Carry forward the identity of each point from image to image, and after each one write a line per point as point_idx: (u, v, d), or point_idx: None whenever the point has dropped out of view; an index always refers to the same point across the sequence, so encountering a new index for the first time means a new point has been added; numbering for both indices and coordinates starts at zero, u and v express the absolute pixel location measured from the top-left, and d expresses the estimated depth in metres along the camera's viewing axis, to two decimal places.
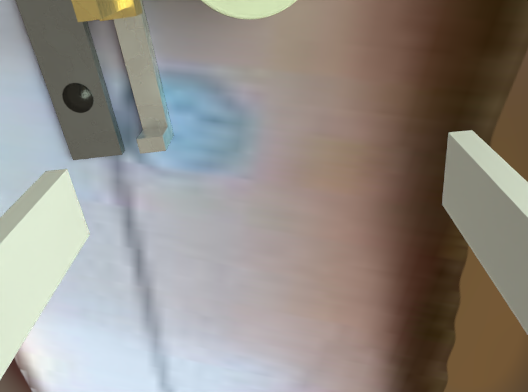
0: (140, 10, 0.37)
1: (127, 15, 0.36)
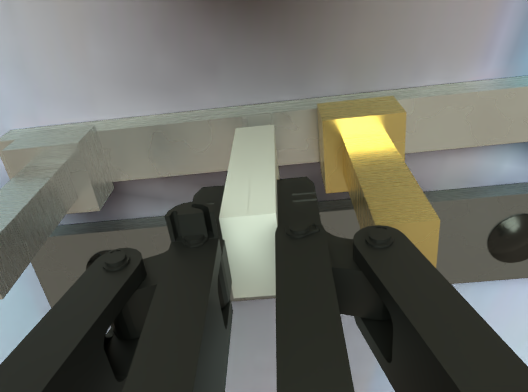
0: (390, 100, 0.18)
1: (401, 131, 0.17)
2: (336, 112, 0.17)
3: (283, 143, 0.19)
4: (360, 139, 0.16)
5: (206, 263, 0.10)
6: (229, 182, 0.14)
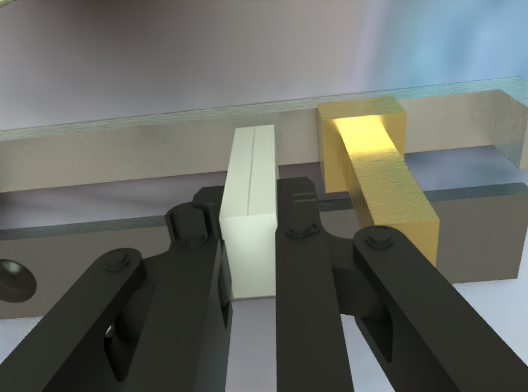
0: (390, 100, 0.18)
1: (401, 131, 0.17)
2: (336, 112, 0.17)
3: (153, 155, 0.20)
4: (360, 139, 0.16)
5: (206, 263, 0.10)
6: (229, 182, 0.14)
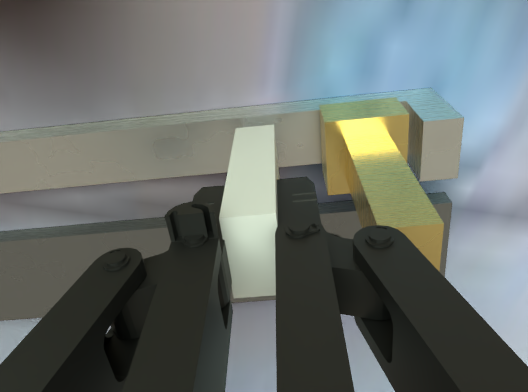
0: (393, 102, 0.18)
1: (404, 133, 0.17)
2: (339, 113, 0.17)
3: (68, 165, 0.20)
4: (363, 141, 0.16)
5: (206, 263, 0.10)
6: (229, 182, 0.14)
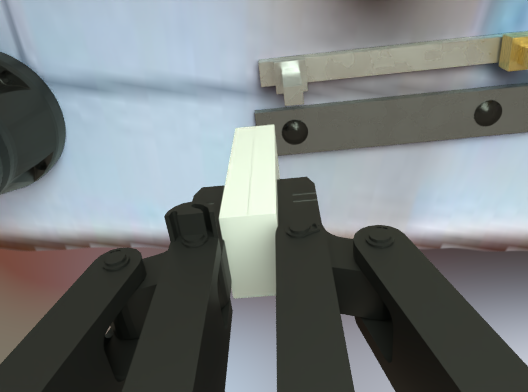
0: None
1: None
2: (516, 35, 0.42)
3: (384, 63, 0.45)
4: None
5: (206, 263, 0.10)
6: (229, 182, 0.14)
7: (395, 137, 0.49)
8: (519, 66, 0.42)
